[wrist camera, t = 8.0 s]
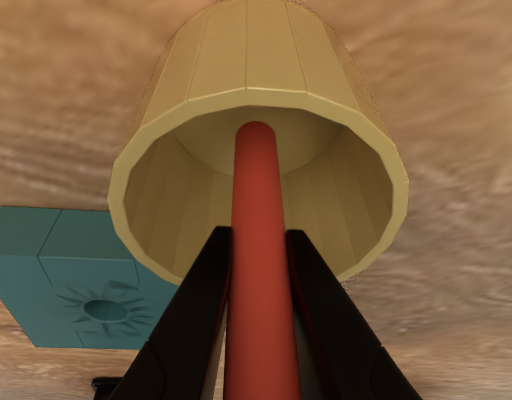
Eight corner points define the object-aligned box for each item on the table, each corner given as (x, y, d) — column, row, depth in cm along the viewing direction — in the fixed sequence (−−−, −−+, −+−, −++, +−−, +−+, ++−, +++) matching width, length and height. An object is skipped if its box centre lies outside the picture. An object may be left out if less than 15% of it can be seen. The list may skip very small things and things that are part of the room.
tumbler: (165, 172, 17) (132, 298, 12) (145, -16, 11) (71, 73, 7) (329, 181, 17) (359, 305, 12) (380, 5, 12) (466, 103, 7)
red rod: (234, 153, 13) (220, 456, 6) (236, 118, 12) (221, 434, 5) (273, 155, 13) (298, 457, 6) (278, 121, 12) (314, 434, 6)
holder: (54, 303, 24) (35, 347, 22) (1, 205, 18) (-34, 254, 16) (206, 307, 25) (202, 351, 23) (205, 215, 19) (199, 263, 16)
